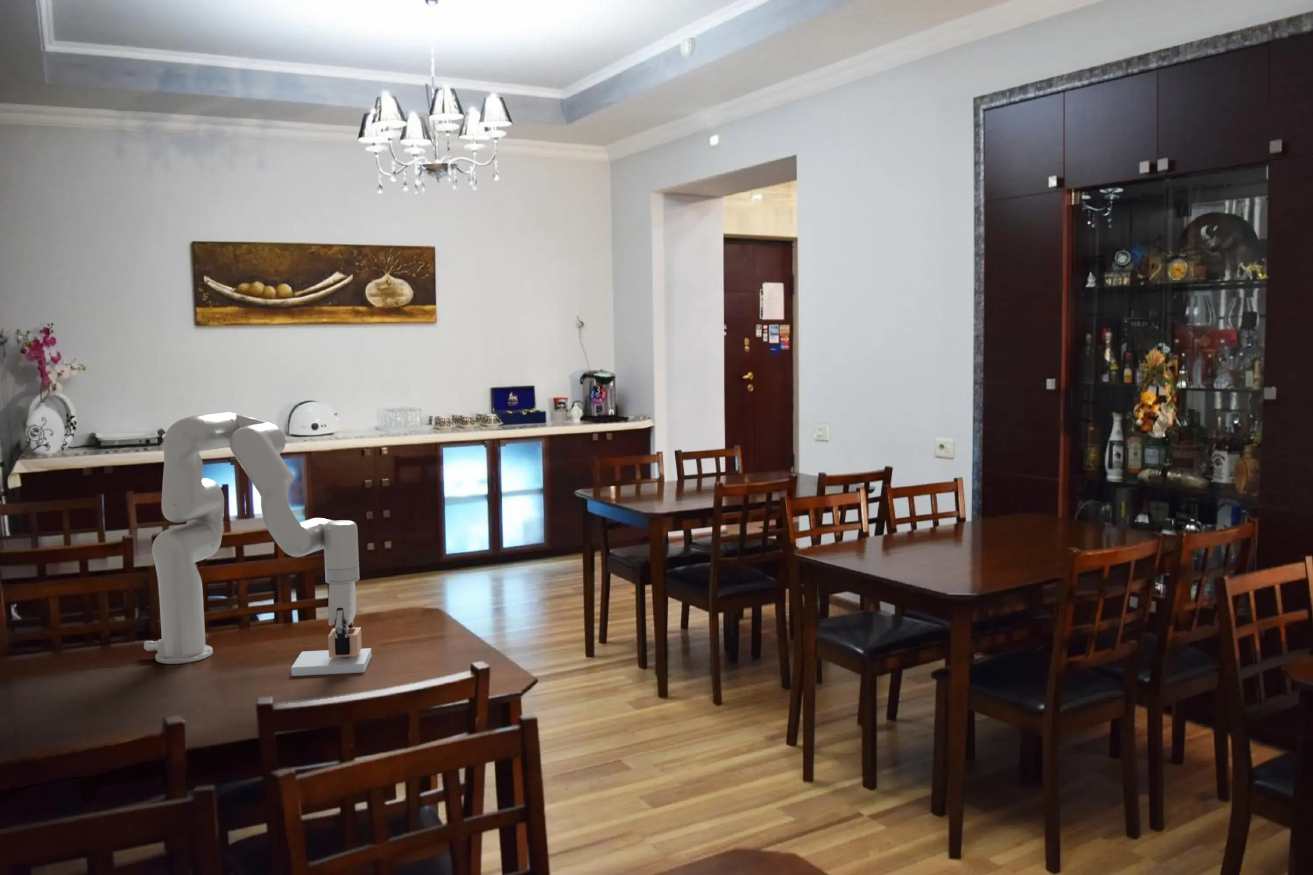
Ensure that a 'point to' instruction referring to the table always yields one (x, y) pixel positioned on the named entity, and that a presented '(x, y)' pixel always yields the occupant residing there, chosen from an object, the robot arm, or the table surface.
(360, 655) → the post plate
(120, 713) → the table surface
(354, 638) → the collar
